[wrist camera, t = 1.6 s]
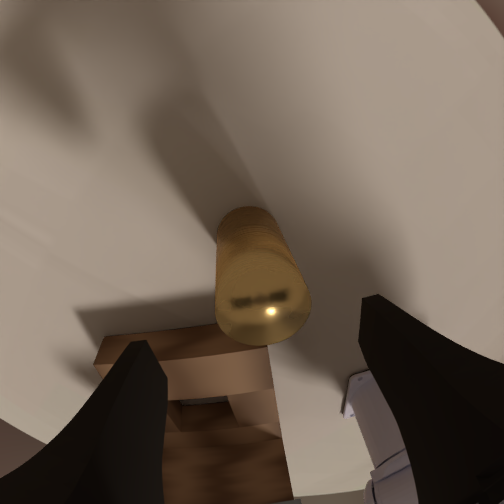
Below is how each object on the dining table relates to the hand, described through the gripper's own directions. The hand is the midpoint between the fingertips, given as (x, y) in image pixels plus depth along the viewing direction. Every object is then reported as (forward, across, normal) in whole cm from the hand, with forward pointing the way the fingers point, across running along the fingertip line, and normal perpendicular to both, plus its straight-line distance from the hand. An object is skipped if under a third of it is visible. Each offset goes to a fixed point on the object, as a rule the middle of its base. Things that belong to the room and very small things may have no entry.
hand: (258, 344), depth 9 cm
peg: (+9, 0, 0) cm, 9 cm away
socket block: (+8, +6, +13) cm, 17 cm away
